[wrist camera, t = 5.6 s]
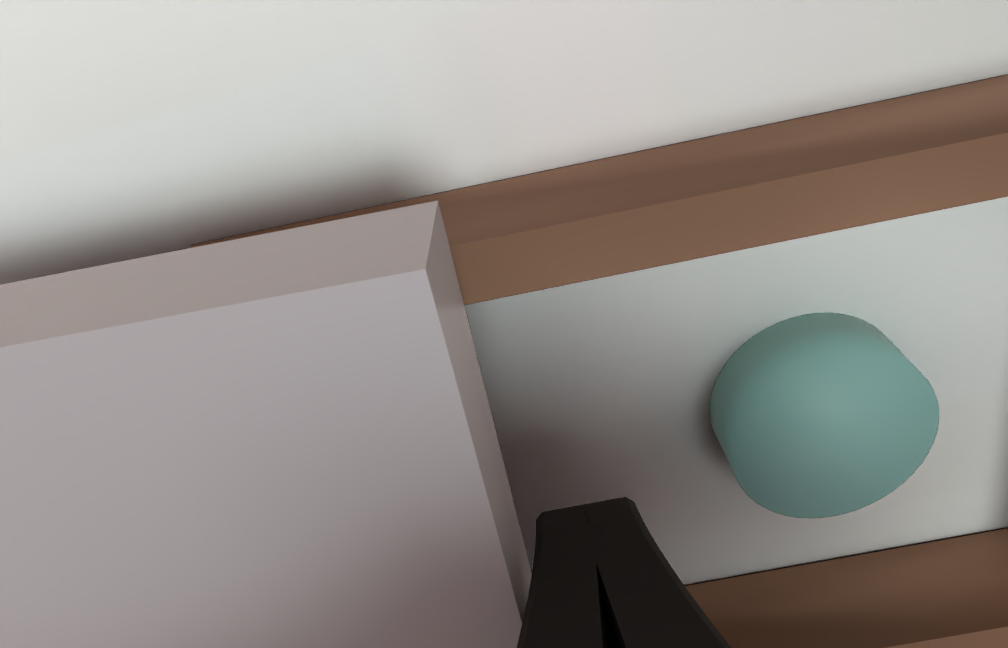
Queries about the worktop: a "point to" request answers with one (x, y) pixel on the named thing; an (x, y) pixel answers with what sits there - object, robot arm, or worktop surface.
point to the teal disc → (822, 415)
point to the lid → (255, 450)
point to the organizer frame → (745, 224)
